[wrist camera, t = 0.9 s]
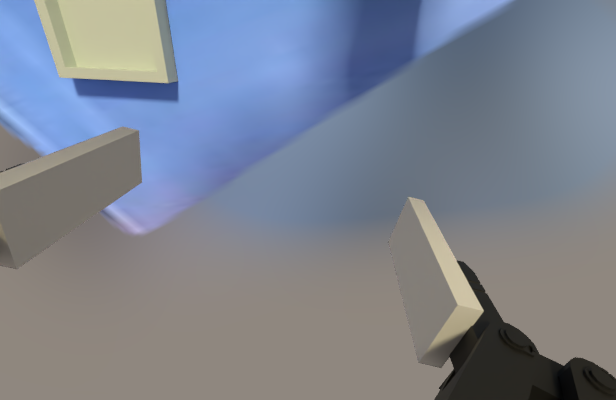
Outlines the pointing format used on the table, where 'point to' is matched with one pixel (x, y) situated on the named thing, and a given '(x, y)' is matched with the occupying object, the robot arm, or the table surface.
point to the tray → (110, 39)
